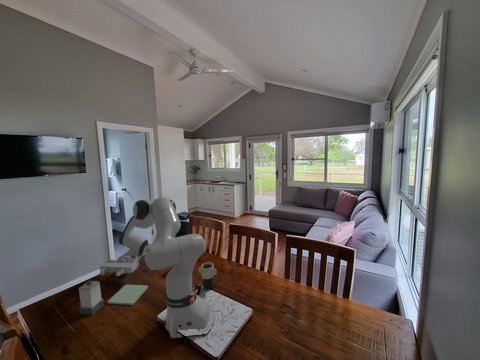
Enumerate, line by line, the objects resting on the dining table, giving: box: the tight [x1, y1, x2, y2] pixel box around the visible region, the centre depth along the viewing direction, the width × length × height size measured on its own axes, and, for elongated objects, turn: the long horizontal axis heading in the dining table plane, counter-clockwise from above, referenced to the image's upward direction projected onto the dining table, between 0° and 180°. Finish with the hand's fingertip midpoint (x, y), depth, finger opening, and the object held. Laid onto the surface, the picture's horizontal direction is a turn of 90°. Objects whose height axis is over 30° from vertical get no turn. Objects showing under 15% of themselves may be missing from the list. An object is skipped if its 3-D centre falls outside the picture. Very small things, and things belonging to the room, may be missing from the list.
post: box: [78, 298, 105, 316], centre depth 100 cm, size 7×7×9 cm
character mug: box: [198, 261, 218, 290], centre depth 114 cm, size 11×7×13 cm, turn 77°
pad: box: [107, 284, 149, 306], centre depth 109 cm, size 14×14×1 cm
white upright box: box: [78, 280, 103, 308], centre depth 99 cm, size 6×6×11 cm
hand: (108, 274), depth 111 cm, fingers open, 8 cm apart
